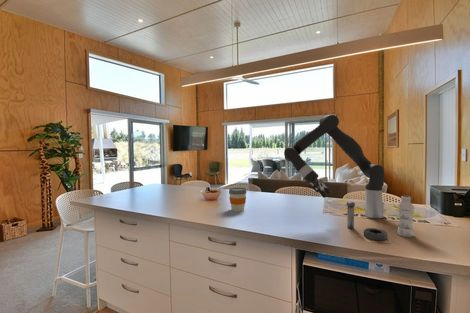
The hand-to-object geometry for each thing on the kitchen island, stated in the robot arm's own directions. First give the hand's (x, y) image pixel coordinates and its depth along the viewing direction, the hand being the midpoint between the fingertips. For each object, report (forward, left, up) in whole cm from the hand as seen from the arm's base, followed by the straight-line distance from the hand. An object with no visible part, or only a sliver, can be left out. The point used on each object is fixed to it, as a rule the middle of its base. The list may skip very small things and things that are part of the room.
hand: (328, 195), depth 137 cm
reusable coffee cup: (+53, -34, -17) cm, 65 cm away
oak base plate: (-16, +20, -17) cm, 31 cm away
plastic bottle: (-32, +16, -17) cm, 40 cm away
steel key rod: (-10, +6, -17) cm, 21 cm away
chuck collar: (-16, +20, -16) cm, 30 cm away
